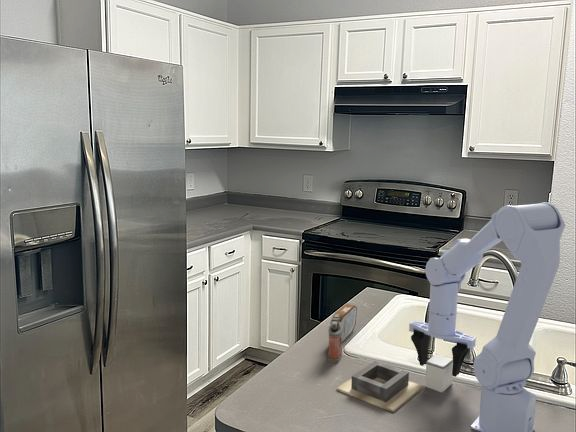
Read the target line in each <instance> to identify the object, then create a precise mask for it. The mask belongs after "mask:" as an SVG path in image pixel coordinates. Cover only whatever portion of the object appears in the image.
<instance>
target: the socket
mask: <svg viewBox="0 0 576 432" xmlns="http://www.w3.org/2000/svg"><path fill="white" fill-rule="evenodd" d="M409 375H410V372H409V371H406V370H403V369H400V368H397V367H396V366H395V367H394V366H392V365H388V364H385V363H383V362H380V361H377V360H374V361H373V362H371V363H369V364H368V365H366V366H365V367H363V368H362V369H359V371H357V372H355V373H354V374H352V375H351V378H350V379H347V381H345V382H343V383H341V384H340V385H339V386H337V387H336V391H338V392H341V393H343V394H345V395H348V396H351V397H354V398H356V399H358V400H360V401H363V402H365V403H368V404H370V405H374V406H375V407H378V408H381V409H383V410H386V411H389V412H390V413H392V414H393V413H395V412H396V411H397V410H399V409H400V408H401V407H402V406H403V405H405V404H406V403H408V401H409V400H411V399H412V398H413V397H414V396H415V395H416V394H418V393H419V392H420V391H421V390H422V389H424V385H422V384H419V383H416V382H413V381H409V377H410V376H409Z"/></svg>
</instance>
